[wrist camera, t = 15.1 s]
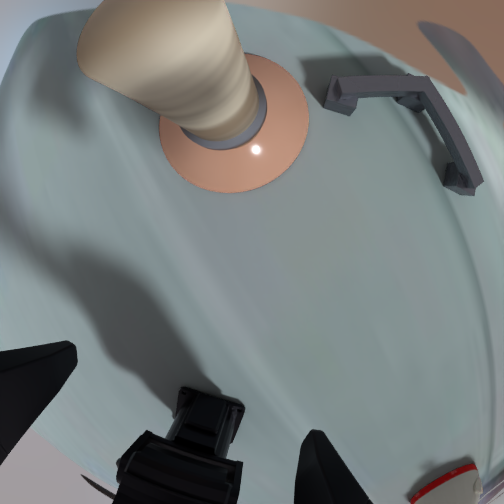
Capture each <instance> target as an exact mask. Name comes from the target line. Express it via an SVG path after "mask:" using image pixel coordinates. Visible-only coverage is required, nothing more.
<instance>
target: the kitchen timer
mask: <svg viewBox="0 0 504 504" xmlns="http://www.w3.org/2000/svg"><path fill="white" fill-rule="evenodd" d="M482 493H483V489H482V483H481V479H480V477H479V473H478V470H477V468H476V466H475V465H474V464H469V465H465V466H462V467H460V468H457V469H455V470H453V471H451V472H449V473H447V474H445V475H444V476H442V477H440V478H438V479H437V480H435V481H433V482H432V483H430V484H428V485H427V486H426V487H424V488H423V489H421V490H420V491H419V492H418V493H417V494H415V495H414V496H413V498H412V499H411V504H478V501H479V497H480V494H482Z"/></svg>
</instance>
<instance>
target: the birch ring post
mask: <svg viewBox="0 0 504 504" xmlns="http://www.w3.org/2000/svg"><path fill="white" fill-rule="evenodd" d="M77 62H78V65H79V67H80V69H81V71H82V72H83V73H84V74H85V75H86V76H87V77H89V78H91V79H93V80H95V81H97V82H99V83H101V84H103V85H105V86H107V87H109V88H111V89H113V90H115V91H117V92H119V93H121V94H123V95H125V96H127V97H128V98H130V99H132V100H134V101H136V102H138V103H140V104H142V105H143V106H145V107H147V108H149V109H151V110H152V111H154V112H156V113H158V114H160V115H161V116H163V117H165V118H167V119H168V120H170V121H172V122H174V123H175V124H177V125H179V126H180V128H181V130H182V132H183V133H184V134H185V135H186V136H187V137H188V138H189V139H190V140H192V141H193V142H195V143H196V144H198V145H200V146H202V147H205V148H207V149H211V150H229V149H236V148H239V147H242V146H244V145H246V144H248V143H249V142H251V141H252V140H253V139H254V138H255V137H256V136H257V134H258V133H259V131H260V130H261V127H262V126H263V124H264V121H265V119H266V115H267V100H266V96H265V92H264V89H263V87H262V85H261V84H260V82H259V81H258V80H257V79H256V78H255V77H254V76H253V75H252V74H251V72H250V69H249V66H248V63H247V60H246V57H245V54H244V52H243V49H242V46H241V43H240V41H239V38H238V35H237V32H236V30H235V27H234V24H233V22H232V19H231V17H230V14H229V12H228V9H227V6H226V4H225V1H224V0H104V1H103V2H102V3H101V4H100V5H99V6H98V7H97V8H96V10H95V11H94V12H93V13H92V15H91V16H90V18H89V19H88V21H87V22H86V24H85V26H84V28H83V30H82V32H81V35H80V38H79V41H78V46H77Z"/></svg>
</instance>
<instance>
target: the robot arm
mask: <svg viewBox="0 0 504 504" xmlns="http://www.w3.org/2000/svg"><path fill="white" fill-rule="evenodd" d="M77 363H78V359H77V350H76V346H75V345H74V344H73V343H71V342H70V341H67V340H66V341H60V342H55V343H49V344H44V345H38V346H32V347H26V348H20V349H13V350H7V351H0V465H1V464H2V463H3V461H4V460H5V459H6V457H7V456H8V454H9V453H10V452H11V450H12V449H13V448H14V446H15V445H16V444H17V443H18V441H19V440H20V438H21V437H22V436H23V435H24V434H25V432H26V431H27V430H28V429H29V427H30V426H31V425H32V424H33V422H34V421H35V420H36V419H37V417H38V416H39V415H40V414H41V413H42V411H43V410H44V409H45V408H46V407H47V405H48V404H49V403H50V402H51V401H52V399H53V398H54V397H55V396H56V395H57V393H58V392H59V391H60V389H61V388H62V387H63V385H64V384H65V382H66V381H67V379H68V378H69V376H70V375H71V373H72V372H73V370H74V369H75V367H76V366H77ZM184 391H185V392H184ZM239 409H241V410H239ZM244 412H245V407H244V406H243V405H241V404H237V403H234V402H230V401H227V400H223V399H220V398H217V397H214V396H210V395H207V394H204V393H201V392H198V391H195V390H192V389H190V388H187V387H181V388H180V390H179V395H178V402H177V410H176V417H175V420H174V422H173V424H172V426H171V428H170V430H169V432H168V433H167V435H166V437H165V438H162V437H160V436H158V435H155V434H153V433H152V432H150V431H148V430H146V431H145V432H144V433H143V434H142V435H140V436H139V438H138V439H137V440H136V441H135V442H134V443H133V444H132V445H131V446H130V448H129V449H128V450H127V451H126V452H125V453H124V454H123V455H122V457H121V458H119V459H118V460H117V462H116V465H117V467H118V471H117V475H116V480H117V483H119V484H120V485H119V488H118V491H117V494H116V496H115V498H114V501H113V503H112V504H237V500H238V496H239V491H240V484H241V476H242V468H243V462H241V461H233V460H229V459H226V456H227V453H228V449H229V445H230V444H231V443H232V442H233V440H234V438H235V435H236V433H237V430H238V428H239V425H240V423H241V420H242V417H243V415H244ZM368 499H369V497H368V496H367V495H366V493H365V492H364V490H363V489H362V487H361V486H360V485H359V483H358V482H357V480H356V479H355V477H354V476H353V475H352V473H351V472H350V470H349V469H348V467H347V466H346V464H345V463H344V461H343V460H342V459H341V457H340V456H339V454H338V453H337V451H336V450H335V448H334V447H333V445H332V444H331V442H330V441H329V439H328V438H327V436H326V435H325V433H324V432H323V431H321V430H315V429H312V430H311V431H310V432H309V433H308V435H307V436H306V438H305V439H304V441H303V442H302V445H301V449H300V455H299V461H298V467H297V473H296V479H295V492H294V504H373V503H372V501H371V500H370V499H369V500H368Z"/></svg>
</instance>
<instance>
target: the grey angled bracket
mask: <svg viewBox="0 0 504 504" xmlns="http://www.w3.org/2000/svg"><path fill="white" fill-rule="evenodd" d="M396 96H398V97H397V103H398V104H401V105H403V106H405V107H407V108H410V109H412V110H414V111H416V112H418V113H419V112H421V111H422V110H424V109H426V111H427V112H428V114H429V116H430V117H431V119H432V121H433V122H434V124H435V126H436V128H437V129H438V131H439V133H440V135H441V137H442V138H443V140H444V142H445V144H446V146H447V148H448V150H449V152H450V154H451V156H452V158H453V160H454V162H451V163H448V164H447V170H446V175H445V181H444V187H446V188H448V189H450V190H452V191H454V192H456V193H458V194H459V195H467V196H474V195H475V190H476V187H478V186H479V185H480V184H481V183H483V182H484V180H483V178H482V175H481V173H480V170H479V168H478V166H477V163H476V161H475V159H474V156H473V154H472V152H471V150H470V148H469V146H468V144H467V142H466V140H465V138H464V136H463V134H462V132H461V130H460V128H459V126H458V124H457V122H456V121H455V119H454V117H453V115H452V114H451V112H450V110H449V108H448V107H447V105H446V103H445V102H444V100H443V99H442V97H441V95H440V94H439V92H438V91H437V89H436V88H435V86H434V85H433V83H432V82H431V80H430V78H429V77H428V76H414V75H411V74H409V73H408V74H407V75H366V76H346V77H338V76H334V75H332V77H331V80H330V83H329V86H328V90H327V95H326V99H325V103H324V107H323V108H325V109H328V110H331V111H335V112H338V113H341V114H344V115H347V116H350V115H351V114H352V113H353V112H354V110H355V109H356V106H357V101H358V98H367V97H396Z"/></svg>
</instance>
